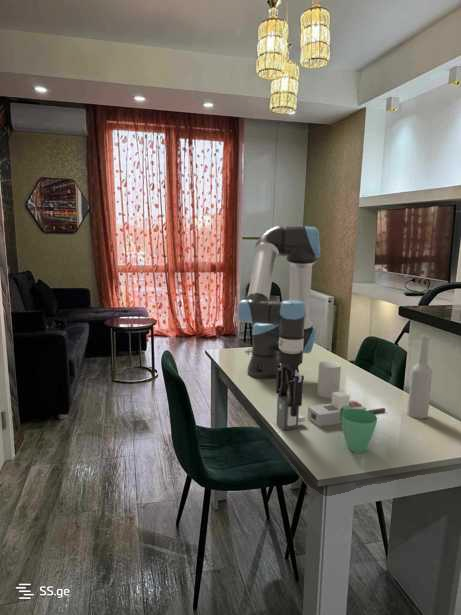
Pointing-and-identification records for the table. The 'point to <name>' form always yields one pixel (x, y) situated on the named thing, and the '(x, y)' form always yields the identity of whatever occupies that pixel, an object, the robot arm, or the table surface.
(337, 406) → the block
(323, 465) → the table surface
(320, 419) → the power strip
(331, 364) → the pale pink cylinder
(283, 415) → the grey rectangular block
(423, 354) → the bottle
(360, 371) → the table surface
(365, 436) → the mug
